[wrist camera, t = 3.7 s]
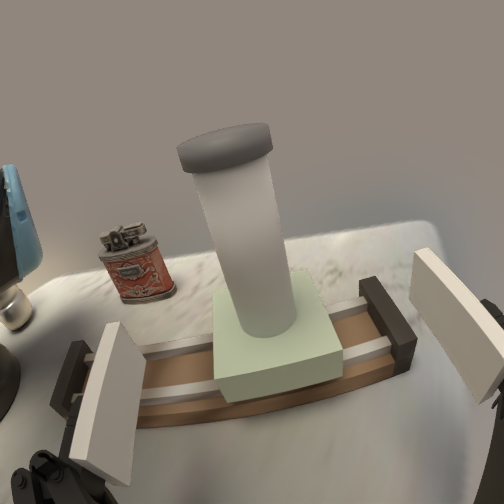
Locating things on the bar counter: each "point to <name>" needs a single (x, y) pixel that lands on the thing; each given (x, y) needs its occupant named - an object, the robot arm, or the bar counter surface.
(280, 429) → the bar counter surface
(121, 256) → the lighter
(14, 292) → the plastic bottle
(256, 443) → the bar counter surface
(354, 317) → the rail track
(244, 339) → the carriage
